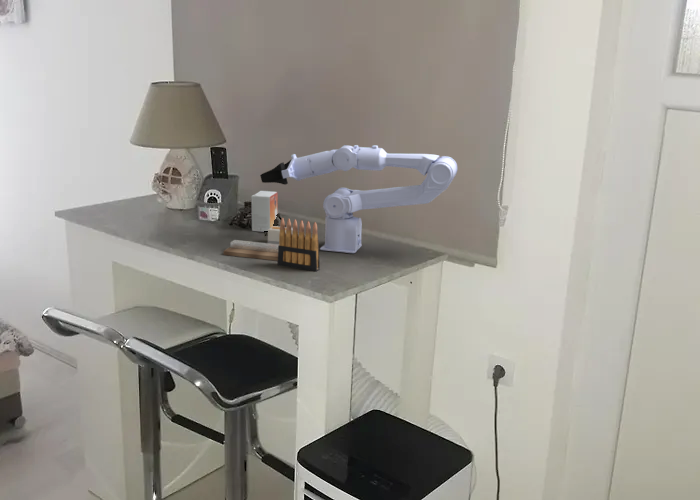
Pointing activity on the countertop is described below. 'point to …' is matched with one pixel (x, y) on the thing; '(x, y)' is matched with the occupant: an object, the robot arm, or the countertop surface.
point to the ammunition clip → (298, 246)
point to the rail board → (251, 254)
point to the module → (275, 234)
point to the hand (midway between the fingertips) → (266, 176)
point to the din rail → (254, 246)
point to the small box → (264, 210)
